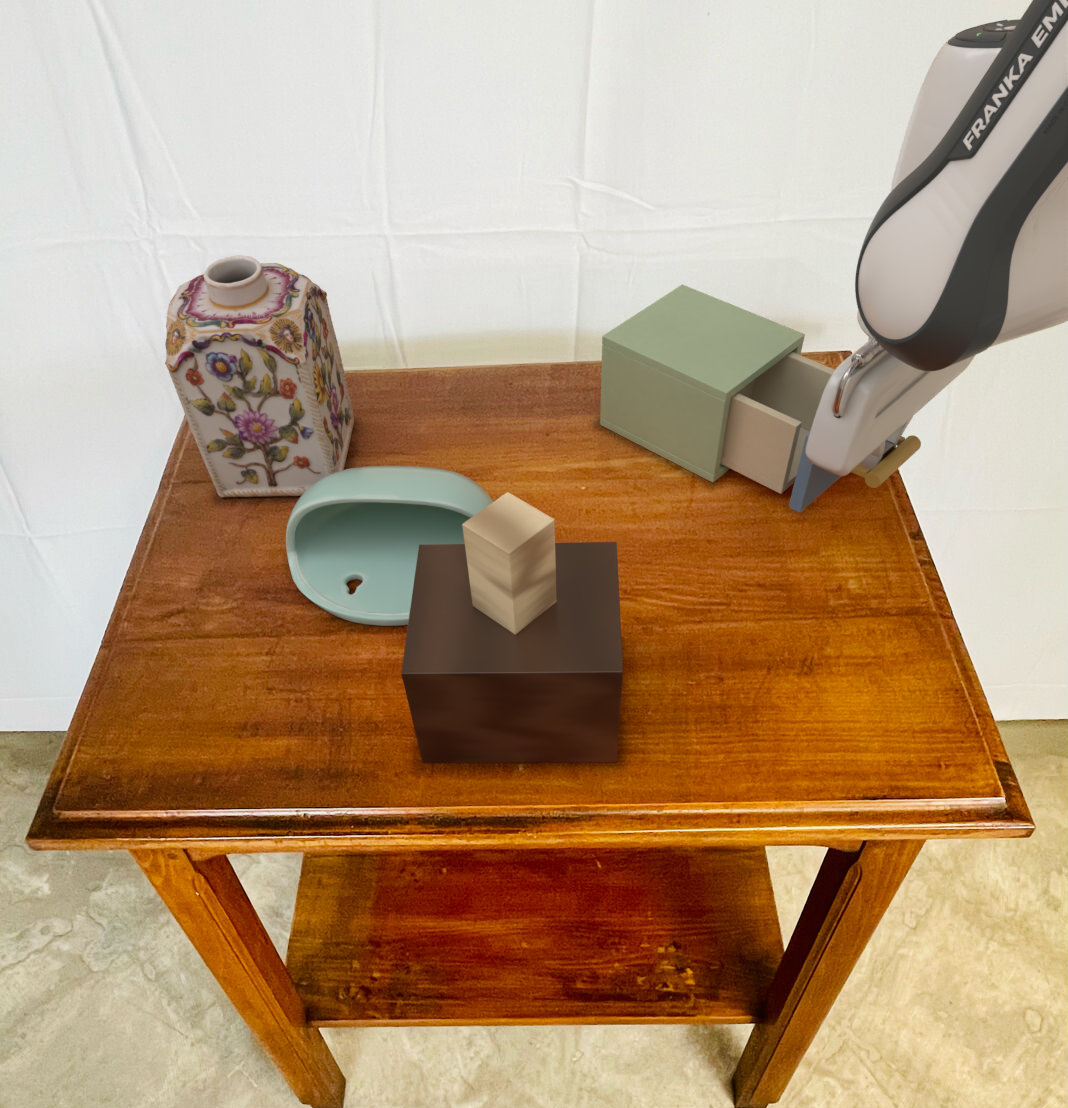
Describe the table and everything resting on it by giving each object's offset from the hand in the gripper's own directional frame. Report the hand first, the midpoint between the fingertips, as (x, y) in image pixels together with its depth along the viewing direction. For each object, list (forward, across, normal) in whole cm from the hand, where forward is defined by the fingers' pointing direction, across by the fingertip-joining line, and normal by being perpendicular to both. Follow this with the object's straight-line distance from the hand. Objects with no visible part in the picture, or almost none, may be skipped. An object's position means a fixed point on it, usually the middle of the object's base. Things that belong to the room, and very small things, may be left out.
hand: (873, 462), depth 76 cm
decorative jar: (+5, -29, +44) cm, 53 cm away
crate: (+5, -36, +7) cm, 37 cm away
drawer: (+4, 0, +7) cm, 8 cm away
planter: (+5, -31, +26) cm, 41 cm away
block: (-5, -36, +7) cm, 37 cm away
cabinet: (+5, 0, +18) cm, 19 cm away
